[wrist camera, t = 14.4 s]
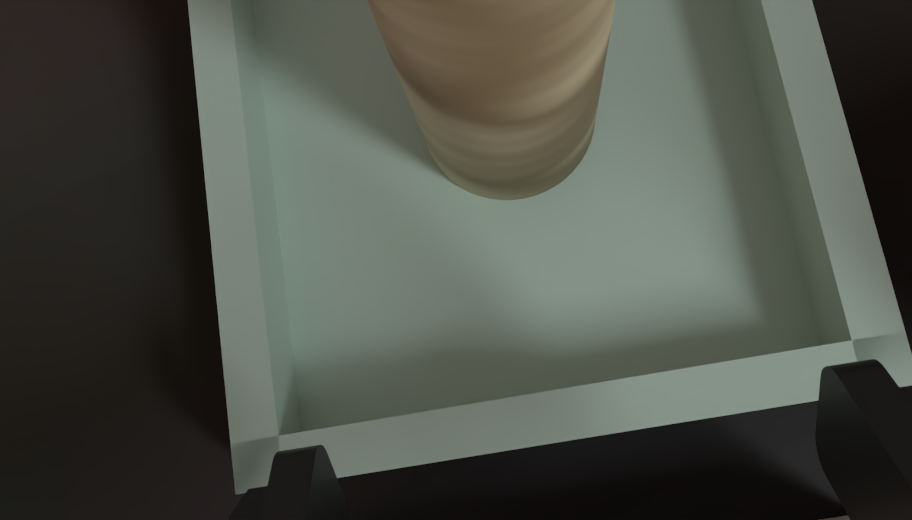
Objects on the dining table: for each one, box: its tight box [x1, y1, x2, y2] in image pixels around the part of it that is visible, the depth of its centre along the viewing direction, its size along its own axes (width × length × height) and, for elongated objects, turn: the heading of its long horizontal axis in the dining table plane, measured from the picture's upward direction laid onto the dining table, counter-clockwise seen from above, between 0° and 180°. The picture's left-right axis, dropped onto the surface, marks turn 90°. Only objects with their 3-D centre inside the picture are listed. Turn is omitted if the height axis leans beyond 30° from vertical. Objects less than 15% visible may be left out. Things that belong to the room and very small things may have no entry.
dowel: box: [367, 0, 616, 200], centre depth 17 cm, size 5×5×12 cm
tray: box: [188, 0, 912, 495], centre depth 22 cm, size 16×18×3 cm
